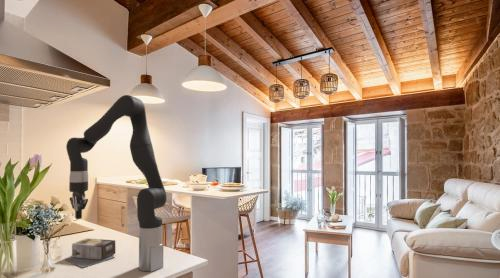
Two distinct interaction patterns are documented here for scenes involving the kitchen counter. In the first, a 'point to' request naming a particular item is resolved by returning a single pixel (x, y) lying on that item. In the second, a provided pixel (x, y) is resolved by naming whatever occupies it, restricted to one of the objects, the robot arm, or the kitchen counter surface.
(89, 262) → the mat
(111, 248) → the coffee box
